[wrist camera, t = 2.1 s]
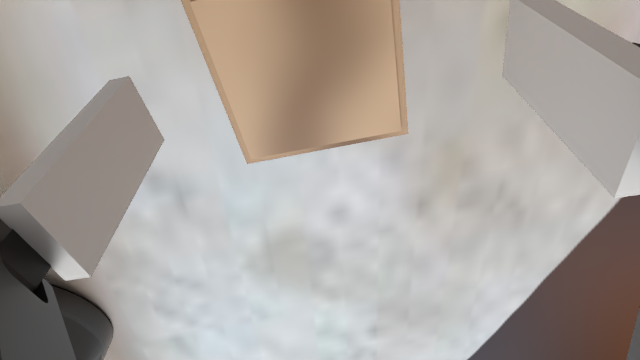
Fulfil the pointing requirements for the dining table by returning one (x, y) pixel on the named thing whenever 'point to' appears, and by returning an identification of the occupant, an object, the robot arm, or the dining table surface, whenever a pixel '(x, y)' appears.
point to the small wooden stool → (304, 71)
